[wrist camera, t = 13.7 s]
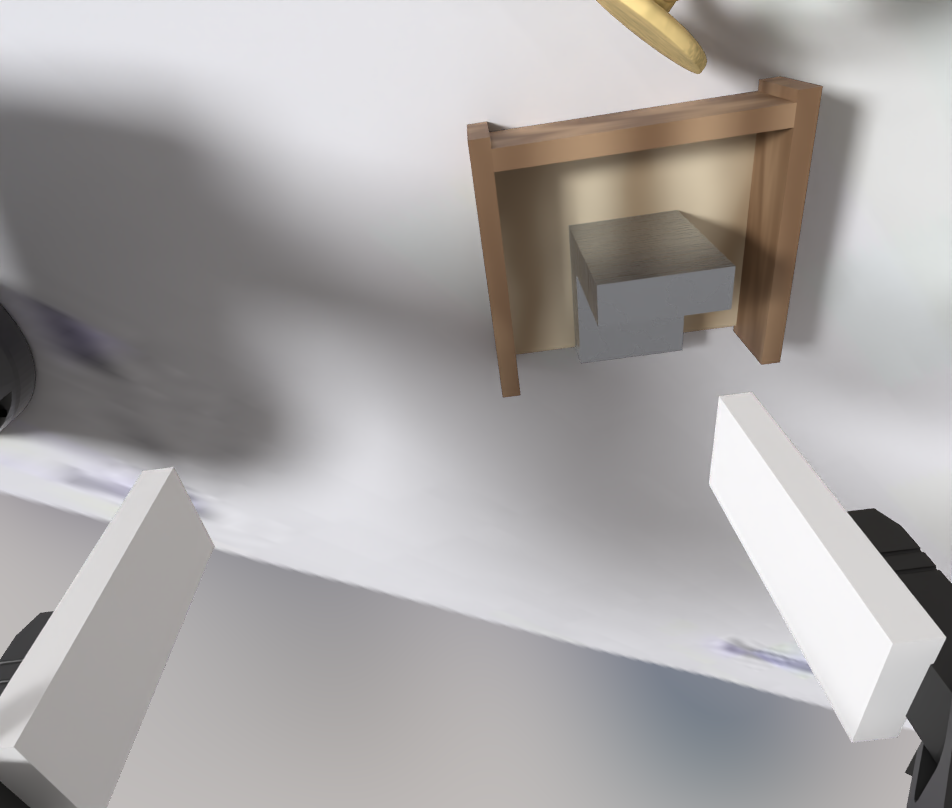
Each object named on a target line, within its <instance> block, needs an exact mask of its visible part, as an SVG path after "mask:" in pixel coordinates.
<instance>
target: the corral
mask: <svg viewBox="0 0 952 808" xmlns="http://www.w3.org/2000/svg"><path fill="white" fill-rule="evenodd" d="M822 87H823V86H819V85H815V84H811V83H807V82H802V81H798V80H794V79H790V78H785V77H781V76H779V77H773V78H766V79H760V80H759V87H758V91H754V92H748V93H741V94H735V95H728V96H722V97H715V98H709V99H702V100H696V101H689V102H683V103H676V104H670V105H663V106H657V107H650V108H644V109H637V110H631V111H624V112H618V113H611V114H605V115H598V116H592V117H585V118H579V119H572V120H566V121H559V122H553V123H546V124H540V125H533V126H527V127H520V128H514V129H507V130H501V131H494V132H489V130H488V125H487V122H482V123H475V124H469V125H467V136H468V147H469V154H470V161H471V169H472V176H473V183H474V191H475V198H476V205H477V212H478V220H479V227H480V234H481V242H482V249H483V256H484V264H485V271H486V278H487V285H488V293H489V300H490V307H491V315H492V322H493V329H494V337H495V344H496V351H497V358H498V366H499V373H500V380H501V388H502V395H503V397H511V396H518V395H520V387H519V379H518V370H517V362H516V354H524V353H532V352H539V351H547V350H554V349H562V348H570V347H575V331H574V314H573V296H572V278H571V260H570V243H569V225H576V224H583V223H590V222H597V221H603V220H610V219H617V218H624V217H631V216H638V215H645V214H652V213H659V212H666V211H673V210H678V211H679V212H680V213H681V214H682V215H683V216H684V217H685V218H686V219H687V220H688V221H689V222H690V223H692V224H693V225H694V226H695V227H696V228H697V229H698V230H699V231H700V232H701V233H702V234H703V235H704V236H705V237H706V238H707V239H708V240H709V241H710V242H711V243H712V244H713V245H714V246H715V247H716V248H717V249H718V250H719V251H720V252H721V253H722V254H724V255H725V256H726V257H727V258H728V259H729V260H730V261H731V262H732V263H733V264H734V265H735V266H736V267H735V277H734V287H733V297H732V307H731V309H730V310H723V311H715V312H708V313H700V314H693V315H685V316H684V326H683V333H684V332H692V331H699V330H707V329H715V328H722V327H730V326H734V329H733V331H734V332H735V333H736V334H737V336H738V337H739V338H740V339H741V341H742V342H743V343H744V344H745V345H746V347H747V348H748V349H749V350H750V351H751V353H752V354H753V355H754V356H755V358H756V359H757V360H758V361H759V362H760V364H761V365H762V364H770V363H778V362H780V358H781V352H782V345H783V339H784V332H785V326H786V320H787V313H788V307H789V300H790V294H791V287H792V281H793V274H794V268H795V262H796V255H797V249H798V242H799V236H800V229H801V223H802V216H803V210H804V203H805V197H806V191H807V184H808V178H809V171H810V165H811V158H812V152H813V145H814V139H815V132H816V126H817V120H818V113H819V107H820V100H821V94H822Z"/></svg>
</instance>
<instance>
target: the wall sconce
mask: <svg viewBox="0 0 952 808" xmlns="http://www.w3.org/2000/svg"><path fill="white" fill-rule="evenodd" d="M596 1H597V2H598V3H599V4H600V5H601V6H602V7H604V8H605V9H606V10H607V11H608V12H609V13H610V14H611V15H612V16H614V17H615V18H616V19H617V20H618V21H619V22H621V23H622V24H623V25H624V26H625V27H627V28H628V29H629V30H630V31H632V32H633V33H634V34H635V35H637V36H638V37H639V38H641V39H642V40H643V41H645V42H646V43H647V44H649V45H650V46H651V47H653V48H654V49H656V50H657V51H658V52H660V53H661V54H663V55H664V56H666V57H667V58H669V59H670V60H672V61H673V62H675V63H677V64H678V65H680V66H682V67H683V68H685V69H687V70H689V71H691V72H693V73H696V74H700V73H701V72H702V71H703V69H704V68H705V66H706V63H707V59H706V55H705V53H704V51H703V49H702V48H701V46H700V45H699V44H698V42H697V41H696V40H695V39H694V37H693V36H692V35H691V34H690V33H689V32H688V31H687V30H686V29H685V28H684V27H683V26H682V25H681V24H680V23H679V22H678V21H677V20H676V19H675V18H674V17H673V16H671V15H670V14H669V13H668V12H669V11H670V9H671V8H672V7H673V5H674V4H675V2H676V1H678V0H596Z"/></svg>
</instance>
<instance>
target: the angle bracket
mask: <svg viewBox="0 0 952 808" xmlns="http://www.w3.org/2000/svg"><path fill="white" fill-rule="evenodd" d="M569 243H570V260H571V278H572V296H573V314H574V331H575V347H576V350H577V353H578V357H579V360H580V363H587V362H595V361H602V360H610V359H618V358H625V357H633V356H641V355H649V354H656V353H664V352H672V351H679V350H682V345H683V326H684V316H685V315H693V314H700V313H708V312H715V311H723V310H730V309H731V307H732V297H733V287H734V277H735V267H736V266H735V265H734V264H733V263H732V262H731V261H730V260H729V259H728V258H727V257H726V256H725V255H724V254H722V253H721V252H720V251H719V250H718V249H717V248H716V247H715V246H714V245H713V244H712V243H711V242H710V241H709V240H708V239H707V238H706V237H705V236H704V235H703V234H702V233H701V232H700V231H699V230H698V229H697V228H696V227H695V226H694V225H693V224H692V223H690V222H689V221H688V220H687V219H686V218H685V217H684V216H683V215H682V214H681V213H680V212H679V211H678V210H673V211H666V212H659V213H652V214H645V215H638V216H631V217H624V218H617V219H610V220H603V221H597V222H590V223H583V224H576V225H569Z"/></svg>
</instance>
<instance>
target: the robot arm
mask: <svg viewBox="0 0 952 808" xmlns="http://www.w3.org/2000/svg"><path fill="white" fill-rule="evenodd" d="M34 386H35V367H34V362H33V358H32V355H31V351H30V349H29V346H28V344H27V342H26V340H25V338H24V336H23V334H22V333H21V331H20V329H19V328H18V326H17V325H16V323H15V322H14V321H13V319H12V318H11V317H10V315H9V314H8V313H7V312H6V311H5V309H4V308H3V307H2V306H1V305H0V431H1V430H2V429H3V428H5V427H6V426H7V425H8V424H9V423H10V422H11V421H12V420H13V419H14V418H16V417H17V416H18V415H19V414H20V413H21V412H22V411H23V410H24V409H25V407H26V406H27V404H28V403H29V401H30V399H31V397H32V394H33V391H34ZM709 485H710V487H711V489H712V491H713V493H714V494H715V496H716V498H717V500H718V502H719V503H720V505H721V507H722V509H723V511H724V512H725V514H726V516H727V518H728V520H729V522H730V523H731V525H732V527H733V529H734V531H735V532H736V534H737V536H738V538H739V540H740V541H741V543H742V545H743V547H744V549H745V550H746V552H747V554H748V556H749V558H750V559H751V561H752V563H753V565H754V567H755V568H756V570H757V572H758V574H759V576H760V578H761V579H762V581H763V583H764V585H765V587H766V588H767V590H768V592H769V594H770V596H771V597H772V599H773V601H774V603H775V605H776V606H777V608H778V610H779V612H780V614H781V615H782V617H783V619H784V621H785V623H786V625H787V626H788V628H789V630H790V632H791V634H792V635H793V637H794V639H795V641H796V643H797V644H798V646H799V648H800V650H801V652H802V653H803V655H804V657H805V659H806V661H807V662H808V664H809V666H810V668H811V670H812V671H813V673H814V675H815V677H816V679H817V681H818V682H819V684H820V686H821V688H822V690H823V691H824V693H825V695H826V697H827V699H828V700H829V702H830V704H831V706H832V708H833V709H834V711H835V713H836V715H837V717H838V718H839V720H840V722H841V724H842V726H843V727H844V729H845V731H846V733H847V735H848V736H849V738H850V740H851V742H861V741H869V740H879V739H887V738H896V737H898V735H899V733H900V731H901V729H902V727H903V725H904V723H905V721H906V719H908V720H909V722H910V723H911V725H912V726H913V728H914V730H915V731H916V733H917V734H918V736H919V737H920V739H921V740H922V742H921V744H920V745H919V747H918V749H917V751H916V753H915V755H914V757H913V759H912V761H911V762H910V764H909V766H908V768H907V770H906V772H905V773H907V774H909V775H911V776H912V781H911V786H910V792H909V797H908V803H907V808H952V583H951V582H950V581H949V580H948V579H947V578H946V577H945V575H944V574H943V573H942V572H941V571H940V570H937V569H936V565H935V564H934V563H933V562H932V561H931V559H930V558H929V557H928V556H927V555H926V554H925V553H924V552H921V551H920V547H919V546H918V545H917V543H916V542H915V541H914V540H913V539H912V538H911V537H910V535H909V534H908V533H907V532H906V531H905V530H904V529H903V527H902V526H900V525H899V524H897V523H896V522H894V521H893V520H891V519H890V518H888V517H887V516H885V515H883V514H882V513H880V512H879V511H877V510H876V509H874V508H872V509H864V510H856V511H848V512H847V511H846V510H845V509H844V508H843V506H842V505H841V504H840V503H839V501H838V500H837V499H836V497H835V496H834V495H833V494H832V492H831V491H830V490H829V489H828V487H827V486H826V485H825V484H824V482H823V481H822V480H821V479H820V477H819V476H818V475H817V474H816V472H815V471H814V470H813V468H812V467H811V466H810V465H809V463H808V462H807V461H806V460H805V458H804V457H803V456H802V455H801V453H800V452H799V451H798V450H797V448H796V447H795V446H794V445H793V443H792V442H791V441H790V439H789V438H788V437H787V436H786V434H785V433H784V432H783V431H782V429H781V428H780V427H779V426H778V424H777V423H776V422H775V421H774V419H773V418H772V417H771V416H770V414H769V413H768V412H767V410H766V409H765V408H764V407H763V405H762V404H761V403H760V402H759V400H758V399H757V398H756V397H755V395H754V394H753V393H752V392H746V393H738V394H731V395H723V396H719V400H718V409H717V418H716V426H715V435H714V444H713V452H712V461H711V470H710V479H709ZM214 547H215V546H214V544H213V542H212V540H211V538H210V536H209V534H208V532H207V531H206V529H205V527H204V525H203V523H202V521H201V519H200V517H199V515H198V513H197V511H196V509H195V507H194V505H193V503H192V502H191V500H190V498H189V496H188V494H187V492H186V490H185V488H184V486H183V484H182V482H181V480H180V478H179V476H178V474H177V473H176V471H175V469H174V467H169V468H161V469H154V470H146V471H142V473H141V474H140V476H139V477H138V479H137V481H136V482H135V484H134V485H133V487H132V489H131V490H130V492H129V493H128V495H127V496H126V498H125V500H124V501H123V503H122V504H121V506H120V508H119V509H118V511H117V512H116V514H115V515H114V517H113V519H112V520H111V522H110V523H109V525H108V526H107V528H106V530H105V531H104V533H103V534H102V536H101V538H100V539H99V541H98V542H97V544H96V545H95V547H94V549H93V550H92V552H91V554H90V555H89V557H88V558H87V560H86V561H85V563H84V565H83V566H82V568H81V569H80V571H79V573H78V574H77V576H76V577H75V579H74V581H73V582H72V583H71V585H70V587H69V588H68V590H67V591H66V593H65V594H64V596H63V598H62V599H61V601H60V602H59V604H58V606H57V607H56V609H55V610H54V611H52V612H44V613H40V614H39V615H38V616H36V618H34V620H32V621H31V622H30V623H29V624H28V625H27V626H26V627H25V628H24V629H23V630H22V631H21V632H20V633H19V634H17V635H16V636H15V638H14V640H13V641H12V642H11V644H10V646H9V647H8V648H7V650H6V651H5V653H4V654H3V656H2V658H1V659H0V808H107V806H108V804H109V801H110V799H111V796H112V794H113V791H114V789H115V787H116V784H117V782H118V779H119V777H120V774H121V772H122V770H123V767H124V765H125V762H126V760H127V758H128V755H129V753H130V750H131V748H132V745H133V743H134V741H135V738H136V736H137V733H138V731H139V729H140V726H141V723H142V721H143V719H144V716H145V714H146V711H147V709H148V707H149V704H150V702H151V699H152V697H153V694H154V692H155V690H156V687H157V685H158V683H159V680H160V678H161V675H162V673H163V670H164V668H165V666H166V663H167V661H168V658H169V656H170V653H171V651H172V648H173V646H174V644H175V641H176V639H177V636H178V634H179V632H180V629H181V627H182V624H183V622H184V620H185V617H186V615H187V612H188V610H189V607H190V605H191V603H192V600H193V598H194V595H195V593H196V590H197V588H198V586H199V583H200V581H201V578H202V576H203V574H204V571H205V569H206V566H207V564H208V561H209V559H210V556H211V554H212V552H213V549H214Z"/></svg>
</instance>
